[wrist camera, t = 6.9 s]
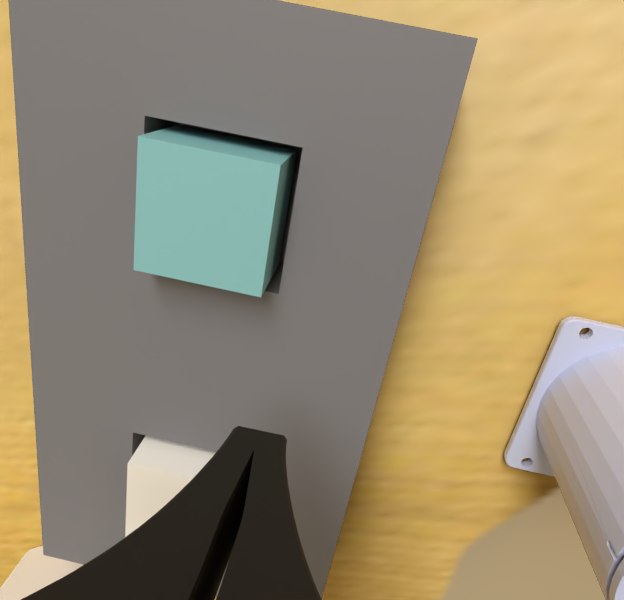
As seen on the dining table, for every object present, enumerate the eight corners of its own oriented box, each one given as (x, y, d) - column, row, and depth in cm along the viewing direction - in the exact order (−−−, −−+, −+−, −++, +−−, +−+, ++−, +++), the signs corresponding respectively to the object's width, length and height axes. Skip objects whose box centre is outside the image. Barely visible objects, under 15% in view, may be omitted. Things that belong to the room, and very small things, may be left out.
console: (459, 43, 18) (477, 38, 15) (323, 551, 29) (315, 620, 26) (77, -30, 19) (5, -52, 15) (84, 495, 30) (43, 554, 26)
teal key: (296, 149, 18) (280, 165, 16) (278, 264, 20) (261, 297, 17) (176, 125, 19) (138, 136, 16) (169, 240, 20) (133, 269, 18)
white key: (251, 436, 24) (232, 487, 21) (240, 506, 26) (221, 562, 23) (158, 415, 24) (127, 463, 21) (153, 486, 26) (125, 539, 23)
